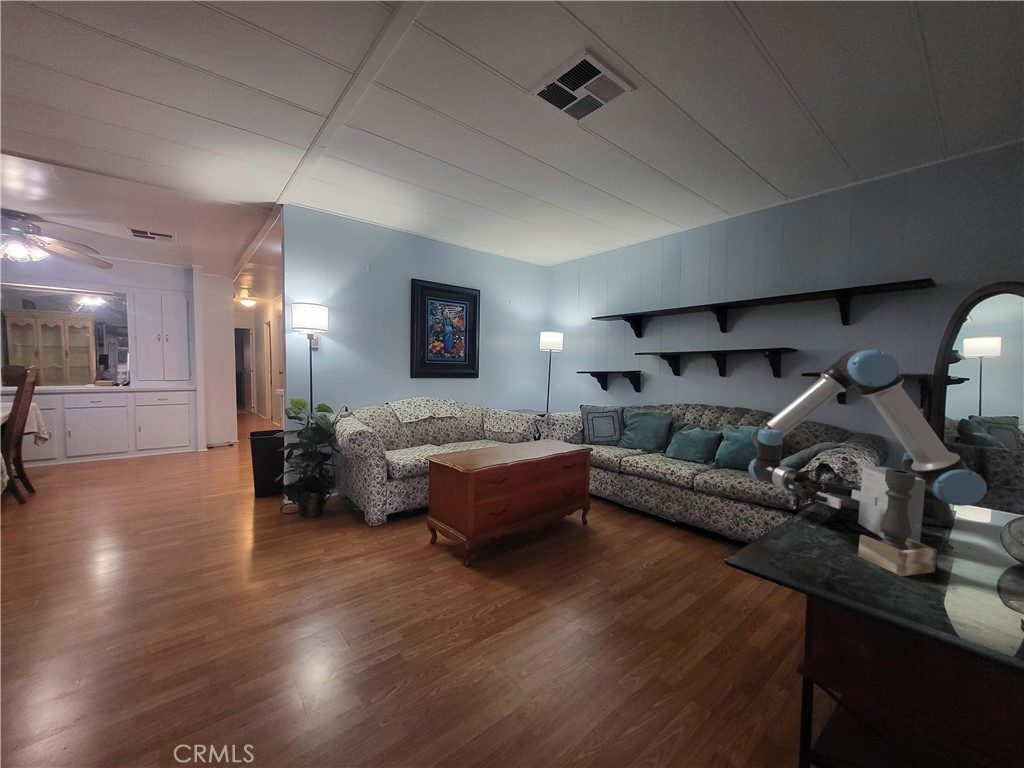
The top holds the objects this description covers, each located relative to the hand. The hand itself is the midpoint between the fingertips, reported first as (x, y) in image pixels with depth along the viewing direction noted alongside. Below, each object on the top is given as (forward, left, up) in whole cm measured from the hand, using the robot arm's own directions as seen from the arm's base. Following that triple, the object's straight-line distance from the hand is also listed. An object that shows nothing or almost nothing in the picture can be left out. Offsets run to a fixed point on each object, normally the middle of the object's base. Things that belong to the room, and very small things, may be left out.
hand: (858, 502), depth 114 cm
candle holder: (0, +9, -13) cm, 16 cm away
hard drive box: (-19, -5, -13) cm, 24 cm away
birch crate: (0, +9, -13) cm, 16 cm away
